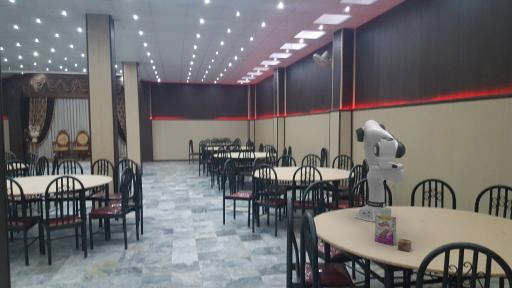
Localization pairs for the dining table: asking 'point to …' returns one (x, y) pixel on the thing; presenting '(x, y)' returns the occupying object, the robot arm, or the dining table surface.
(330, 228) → the dining table surface
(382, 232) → the candy bar box
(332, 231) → the dining table surface
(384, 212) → the sage cube
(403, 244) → the walnut block
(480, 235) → the dining table surface
